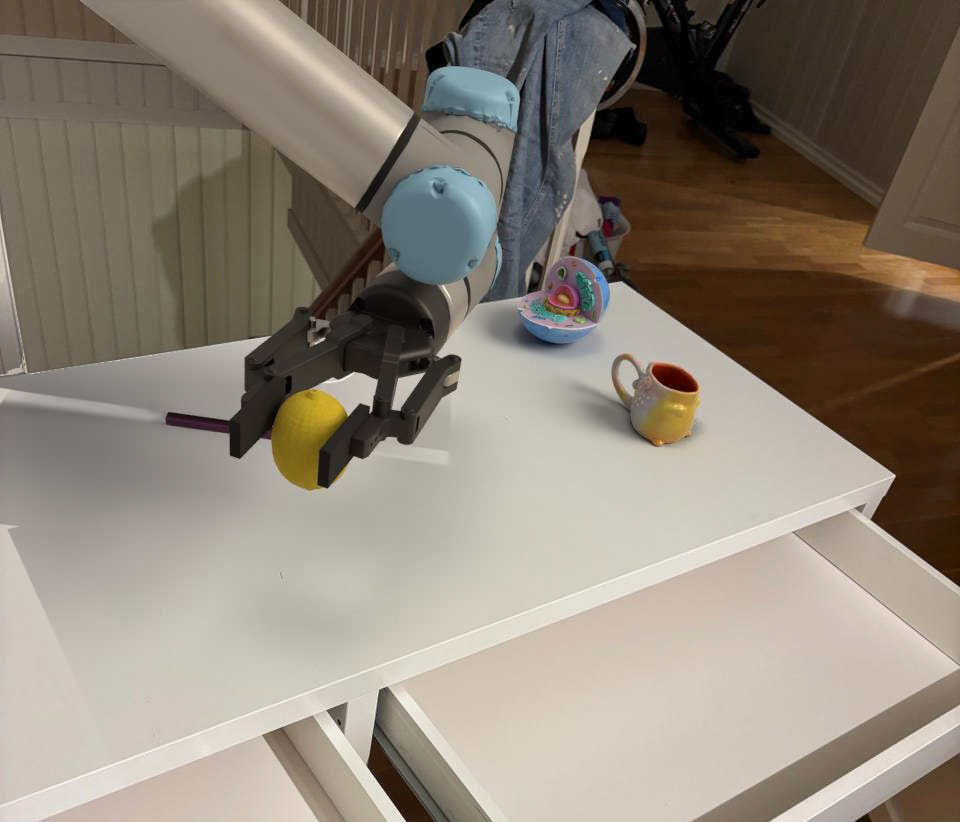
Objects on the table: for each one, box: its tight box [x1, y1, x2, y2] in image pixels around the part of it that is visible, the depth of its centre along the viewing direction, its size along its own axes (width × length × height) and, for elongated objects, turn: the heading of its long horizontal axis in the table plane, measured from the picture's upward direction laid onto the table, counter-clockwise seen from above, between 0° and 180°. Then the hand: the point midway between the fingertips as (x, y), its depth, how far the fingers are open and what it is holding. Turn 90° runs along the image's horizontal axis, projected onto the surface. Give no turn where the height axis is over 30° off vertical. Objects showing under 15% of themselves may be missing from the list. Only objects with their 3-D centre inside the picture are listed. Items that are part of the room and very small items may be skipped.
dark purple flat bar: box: [164, 411, 273, 440], centre depth 95 cm, size 14×5×1 cm, turn 90°
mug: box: [610, 352, 701, 447], centre depth 107 cm, size 12×7×7 cm, turn 35°
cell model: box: [516, 255, 611, 344], centre depth 116 cm, size 10×12×10 cm
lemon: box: [270, 388, 350, 492], centre depth 67 cm, size 6×6×8 cm
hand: (279, 454), depth 62 cm, fingers closed on lemon, 5 cm apart
